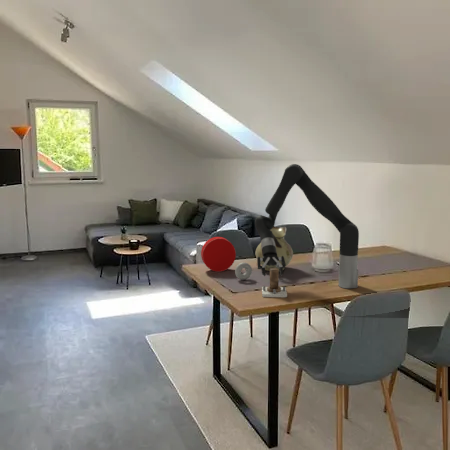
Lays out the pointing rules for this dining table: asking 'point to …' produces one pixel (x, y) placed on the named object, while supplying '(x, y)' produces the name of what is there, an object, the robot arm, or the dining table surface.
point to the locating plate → (274, 292)
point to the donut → (247, 273)
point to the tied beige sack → (278, 247)
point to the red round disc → (218, 254)
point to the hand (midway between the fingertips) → (273, 275)
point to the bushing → (274, 280)
